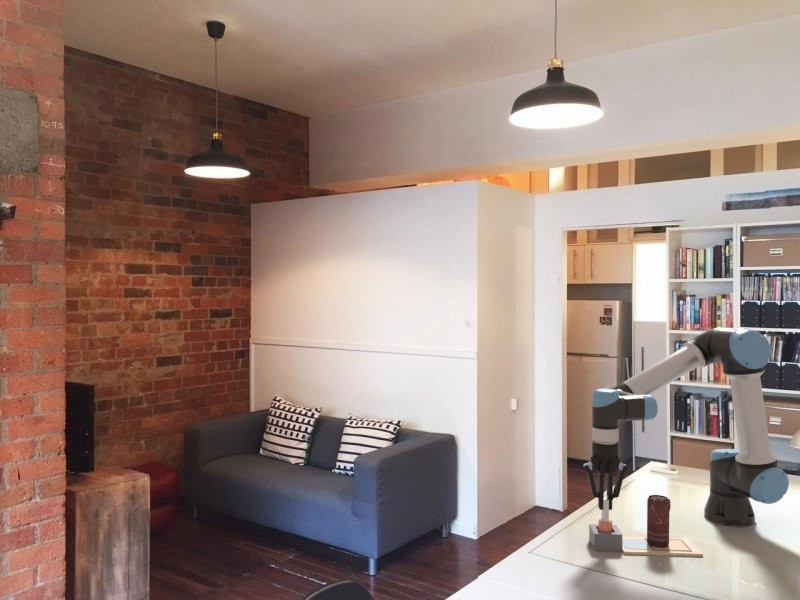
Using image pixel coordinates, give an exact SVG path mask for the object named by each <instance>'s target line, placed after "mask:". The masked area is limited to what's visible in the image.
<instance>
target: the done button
mask: <svg viewBox="0 0 800 600" xmlns="http://www.w3.org/2000/svg"><path fill="white" fill-rule="evenodd" d="M597 525H598V531H599V532H612V525H613V520H611V519H609V522H604V521H603V520H602V518H600V519H598V523H597Z"/></svg>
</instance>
